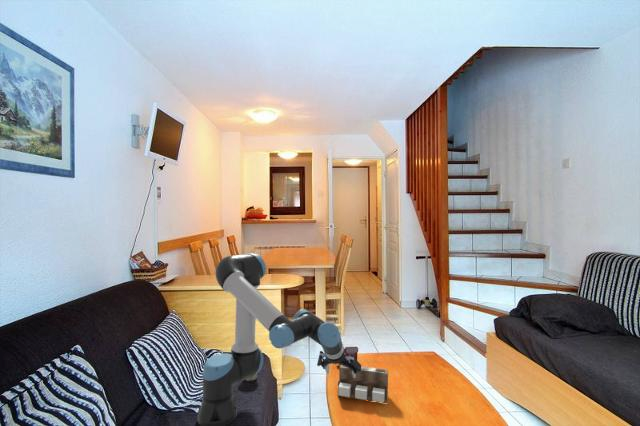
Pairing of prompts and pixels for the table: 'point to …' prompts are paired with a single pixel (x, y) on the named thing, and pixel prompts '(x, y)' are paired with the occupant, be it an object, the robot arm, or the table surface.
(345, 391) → the left button
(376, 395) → the right button
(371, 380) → the console
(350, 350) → the red wheeled toy
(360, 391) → the middle button
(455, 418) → the table surface
